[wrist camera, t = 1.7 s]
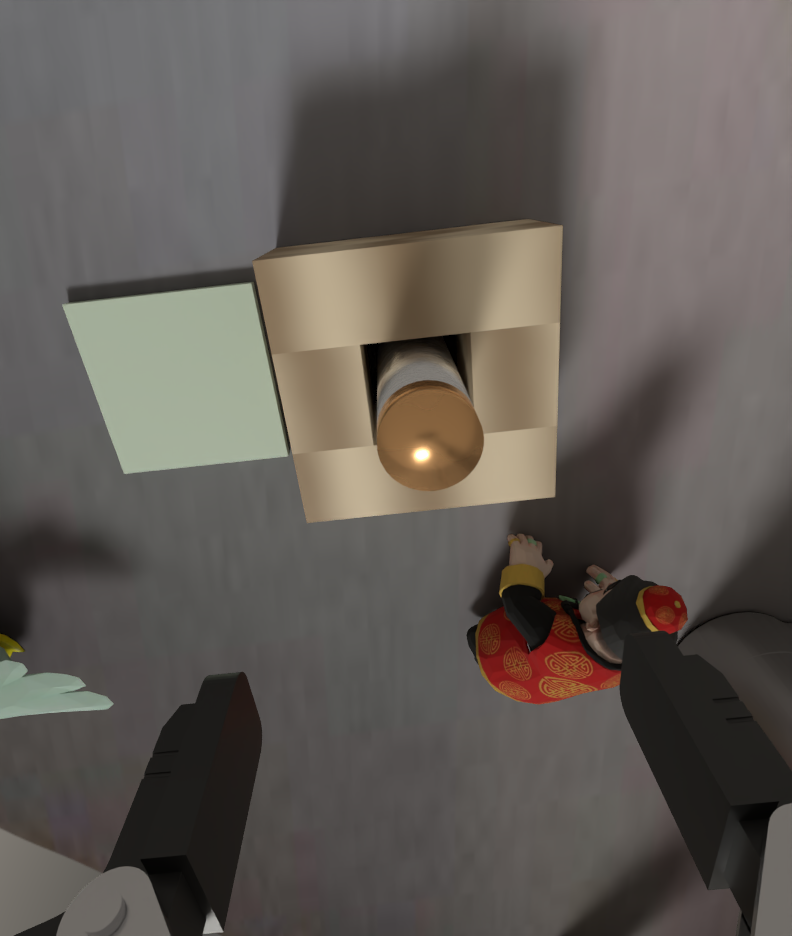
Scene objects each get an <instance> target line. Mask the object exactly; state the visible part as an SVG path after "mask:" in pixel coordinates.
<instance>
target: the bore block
mask: <svg viewBox="0 0 792 936" xmlns="http://www.w3.org/2000/svg"><path fill="white" fill-rule="evenodd" d="M562 233H563V225H558V224H553V223H547V222H542V221H537V220H531V219H522V220H514V221H505V222H496V223H488V224H479V225H470V226H462V227H453V228H445V229H436V230H427V231H419V232H410V233H401V234H393V235H384V236H375V237H367V238H358V239H349V240H341V241H332V242H323V243H315V244H306V245H298V246H289V247H280V248H275V249H273V250H271V251H270V252H268V253H266V254H264V255H262V256H261V257H259V258H257V259H255V260H253V261H252V262H253V267H254V272H255V277H256V281H257V286H258V291H259V296H260V301H261V305H262V310H263V315H264V320H265V325H266V329H267V334H268V339H269V344H270V348H271V353H272V358H273V363H274V368H275V372H276V377H277V382H278V387H279V392H280V396H281V401H282V406H283V411H284V416H285V420H286V425H287V430H288V435H289V439H290V444H291V449H292V454H293V459H294V463H295V468H296V473H297V478H298V483H299V487H300V492H301V497H302V502H303V507H304V511H305V516H306V521H307V523H311V522H321V521H330V520H340V519H349V518H359V517H368V516H378V515H388V514H397V513H407V512H416V511H426V510H435V509H445V508H454V507H464V506H474V505H483V504H493V503H502V502H512V501H521V500H531V499H540V498H550V497H555V483H556V447H557V412H558V376H559V340H560V305H561V269H562ZM452 334H456V347H457V365H458V372H459V375H460V377H461V379H462V382H463V384H464V386H465V388H466V391H467V393H468V395H469V398H470V400H471V402H472V404H473V407H474V409H475V411H476V414H477V416H478V418H479V421H480V423H481V425H482V429H483V433H484V447H483V452H482V455H481V458H480V460H479V462H478V464H477V465H476V467H475V468H474V470H473V471H472V472H471V473H470V474H469V475H468V476H467V477H466V478H465V479H463V480H462V481H461V482H459V483H457V484H455V485H453V486H451V487H449V488H446V489H442V490H437V491H420V490H414V489H411V488H408V487H406V486H404V485H402V484H400V483H398V482H397V481H395V480H394V479H393V478H392V477H391V476H390V475H389V474H388V473H387V472H386V470H385V469H384V468H383V466H382V464H381V462H380V459H379V456H378V452H377V403H375V404H374V398H373V390H372V382H371V375H370V367H369V359H368V351H367V344H372V343H381V342H390V341H399V340H408V339H417V338H426V337H435V336H444V335H452Z"/></svg>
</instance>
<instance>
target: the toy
mask: <svg viewBox="0 0 792 936" xmlns="http://www.w3.org/2000/svg"><path fill="white" fill-rule="evenodd" d="M12 652H24V650H23V648H22V647H21V646H20V645H19V644H18V643H17V642H15V641H14V640H12V639H11V638H9V637H7V636H6V635H3V634H0V719H3V718H9V717H16V716H22V715H32V714H42V713H54V712H69V711H86V710H101V709H108V708H109V707H111V706H112V705H113V703H112V702H111V701H110V700H109V699H108V698H107V697H106V696H102V695H99V694H96V693H92V692H89V691H75V692H69V691H74V690H77V689H79V688H82V687H84V686H86V685H85V684H84V683H83V682H82V681H81V679H80V678H77V677H74V676H70V675H66V674H56V673H38V674H28V675H24V674H25V673H26V672H27V671H28V670H27V669H26V667H25V666H24V665H23V664H22V663H18V662H13V661H12V660H11V659H10V656H11V654H12Z"/></svg>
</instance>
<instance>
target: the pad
mask: <svg viewBox="0 0 792 936" xmlns="http://www.w3.org/2000/svg"><path fill="white" fill-rule="evenodd" d="M62 306H63V308H64V311H65V314H66V316H67V319H68V322H69V325H70V327H71V330H72V333H73V336H74V338H75V341H76V344H77V346H78V349H79V352H80V355H81V357H82V360H83V363H84V366H85V368H86V371H87V374H88V376H89V379H90V382H91V385H92V387H93V390H94V393H95V396H96V398H97V401H98V404H99V406H100V409H101V412H102V415H103V417H104V420H105V423H106V426H107V428H108V431H109V434H110V436H111V439H112V442H113V445H114V447H115V450H116V453H117V456H118V458H119V461H120V464H121V466H122V469H123V472H124V474H127V473H136V472H146V471H155V470H164V469H173V468H183V467H192V466H201V465H211V464H220V463H229V462H239V461H248V460H257V459H267V458H276V457H285V456H288V455H289V452H290V451H289V447H288V442H287V437H286V432H285V428H284V423H283V418H282V414H281V409H280V404H279V399H278V395H277V390H276V385H275V380H274V376H273V371H272V366H271V361H270V357H269V352H268V347H267V342H266V338H265V333H264V328H263V324H262V319H261V314H260V309H259V305H258V300H257V295H256V290H255V286H254V281H253V282H245V283H236V284H227V285H219V286H210V287H201V288H192V289H184V290H175V291H166V292H157V293H149V294H140V295H131V296H122V297H114V298H105V299H96V300H87V301H79V302H70V303H66V304H63V305H62Z"/></svg>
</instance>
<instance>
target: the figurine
mask: <svg viewBox="0 0 792 936" xmlns="http://www.w3.org/2000/svg"><path fill="white" fill-rule="evenodd" d="M507 540H508V541H509V542H508V544H509V546H510V547H511V549H510V560H509V566H507V567H506V568H504V569H503V570H502V576H501V583H500V590H499V594H500V597H501V598H502V602H503V605H504V606H503V607H501V608H499V609H497V610H495V611H493V612H491V613H489V614H488V615H486V616H484V617H483V618H482V619H481V620H480V621H479V623H478V625H475V626H473V627H471V628H470V629H469V630H468V632H467V640H468V644H469V647H470V649H471V651H472V652H473V654H474V656H475V660H476V662H477V663H478V665H479V667H480V671H481V673H482V676H483V677H484V678H485V679H486V680H487V681H488V683H489V684H490V685H491V686H492V687H493V688H494V690H495V691H497V692H499V693H501V694H503V695H505V696H507V697H510V698H512V699H514V700H516V701H520V702H526V703H533V704H544V703H550V702H556V701H560V700H563V699H566V698H569V697H573V696H576V695H579V694H582V693H587V692H592V691H597V690H602V689H607V688H612V687H615V686H617V685H620V677H621V667H622V658H623V648H624V640H625V636H626V635H627V634H633V633H643V632H653V631H663V630H664V631H666V632H667V633H668V634H669V635H670V636H671V637H672V639H673V640H674V642H675V643H676V642H677V639H678V636H677V631H678V630H680V629H682V627H683V626H684V624H685V623H686V621H687V620H688V618H687V608H686V606H685V604H684V601H683V599H682V597H681V595H679V594H678V593H677V592H676V591H675V590H673V589H672V588H670V587H666V586H659V585H657V584H656V583H654V582H650V581H643V580H641V579H640V578H639V577H637V576H635V575H629V576H628V577H626V578H624V579H622V580H616V578H614V577H613V576H612V575H611V574H609V573H608V572H607V571H605V570H603V569H602V568H600V567H598V566H596V565H591V567H590V566H589V567H588V569H587V571H586V572H587V573H588V574H589V575H590V576H592V577H593V578H594V579H595V581H596V583H597V584H599V587H598V586H597V585H595V584H594V583H593V582H592V581H585V583H584V588H585V589H586V590H587V591H589V594H587V595H586V596H585V597H584V599H583V600H582V601H581V602H580V601H577V599H574V598H569V597H566V596H562V595H559V599H558V598H550V597H544V593H545V592H544V578H545V577H546V576H547V575H548V574H549V573H550V572H551V570H552V567H553V565H554V564H553V562H552V560H550V559H548V560H546V561H544V559H543V558H542V543H541V542H540V541H535V540H534V539H533V537H532V536H531V535H526V536H524V534H517V536H515V535H513V534H510V535H508V538H507ZM527 642H528V644H529V647H530V651H531V652H530V651H529V649H528V646H527Z"/></svg>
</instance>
